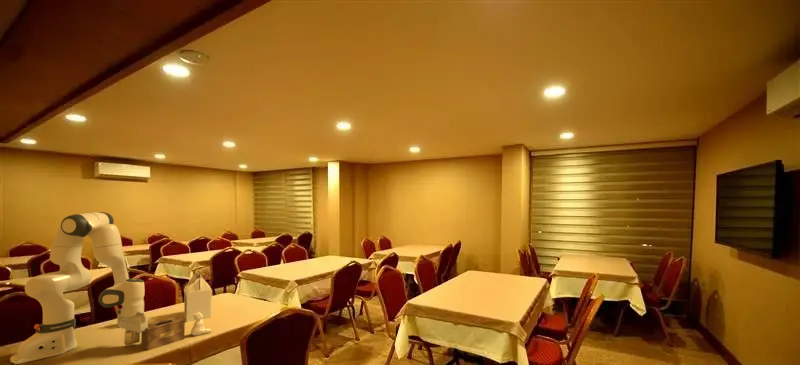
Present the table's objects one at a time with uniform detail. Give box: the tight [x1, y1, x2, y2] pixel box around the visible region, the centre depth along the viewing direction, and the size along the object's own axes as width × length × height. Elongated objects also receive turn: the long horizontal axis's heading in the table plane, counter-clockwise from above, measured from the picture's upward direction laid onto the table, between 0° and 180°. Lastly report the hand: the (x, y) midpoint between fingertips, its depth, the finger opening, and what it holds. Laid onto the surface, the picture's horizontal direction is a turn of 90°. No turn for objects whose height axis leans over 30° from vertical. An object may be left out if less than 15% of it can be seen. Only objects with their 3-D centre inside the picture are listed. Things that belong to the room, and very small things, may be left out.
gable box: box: [183, 269, 213, 323], centre depth 214 cm, size 22×13×28 cm, turn 37°
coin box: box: [140, 315, 186, 351], centre depth 171 cm, size 16×10×10 cm, turn 144°
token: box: [123, 331, 141, 346], centre depth 168 cm, size 6×3×6 cm, turn 142°
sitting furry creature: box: [190, 312, 212, 337], centre depth 182 cm, size 10×9×12 cm
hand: (132, 338), depth 168 cm, fingers closed on token, 3 cm apart
